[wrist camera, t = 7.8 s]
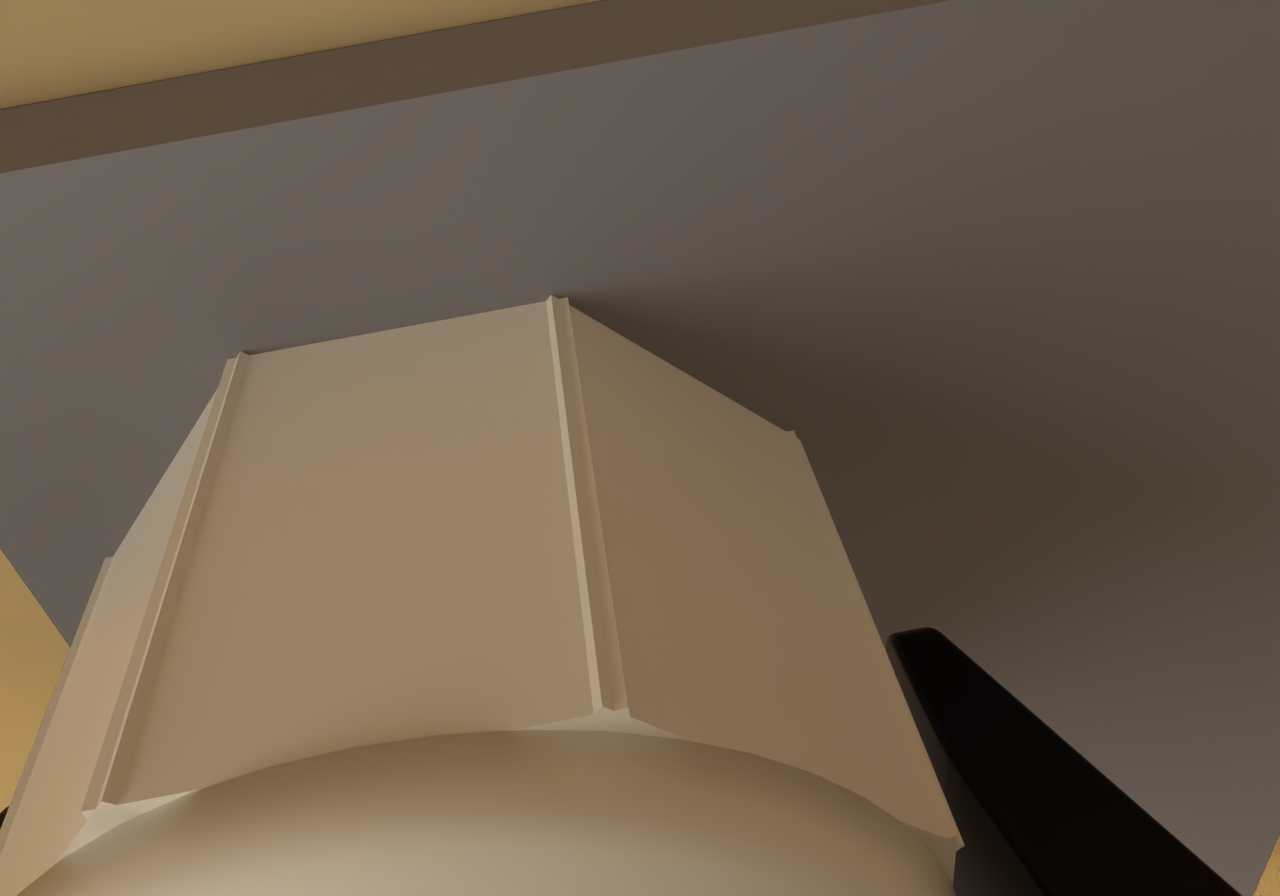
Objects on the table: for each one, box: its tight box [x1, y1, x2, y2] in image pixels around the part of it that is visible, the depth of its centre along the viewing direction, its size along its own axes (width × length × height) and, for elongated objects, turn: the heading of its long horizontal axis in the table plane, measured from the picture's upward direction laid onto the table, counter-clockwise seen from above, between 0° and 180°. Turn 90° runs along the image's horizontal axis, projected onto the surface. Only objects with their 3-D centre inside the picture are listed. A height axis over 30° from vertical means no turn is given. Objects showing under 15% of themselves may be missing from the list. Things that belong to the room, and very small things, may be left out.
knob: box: [0, 295, 965, 896], centre depth 9 cm, size 7×7×5 cm
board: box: [0, 0, 1280, 896], centre depth 12 cm, size 16×14×5 cm
